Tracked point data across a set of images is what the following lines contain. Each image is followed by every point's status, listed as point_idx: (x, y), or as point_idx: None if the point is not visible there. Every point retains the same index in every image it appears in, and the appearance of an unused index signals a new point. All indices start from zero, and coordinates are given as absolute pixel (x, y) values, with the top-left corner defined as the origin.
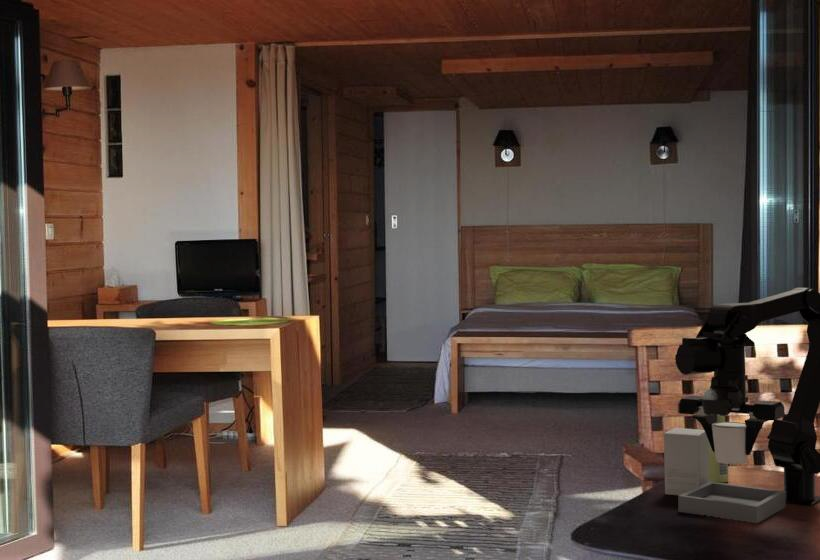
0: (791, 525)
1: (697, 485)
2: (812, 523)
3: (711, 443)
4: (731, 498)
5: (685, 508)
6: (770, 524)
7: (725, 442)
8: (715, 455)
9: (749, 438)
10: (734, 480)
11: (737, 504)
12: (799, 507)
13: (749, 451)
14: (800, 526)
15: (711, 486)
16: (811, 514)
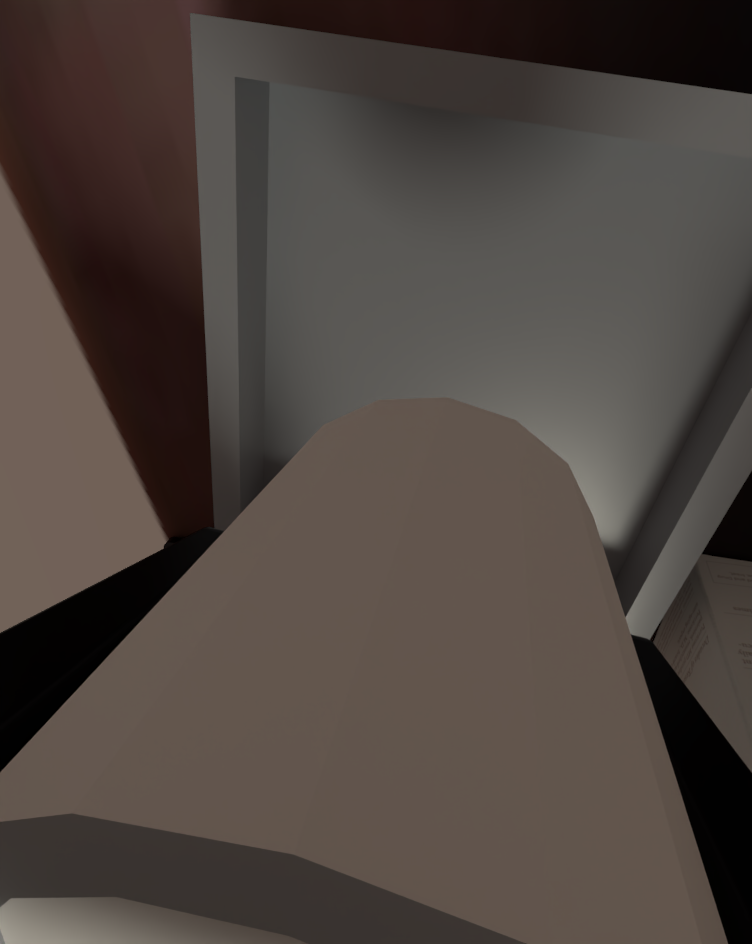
0: (75, 97)
1: (720, 602)
2: (23, 211)
3: (687, 722)
4: None
5: None
6: (174, 52)
7: (403, 547)
8: (603, 550)
9: (19, 645)
10: None
11: (353, 39)
12: (200, 504)
13: (175, 553)
14: (30, 98)
15: (626, 599)
16: (111, 399)
